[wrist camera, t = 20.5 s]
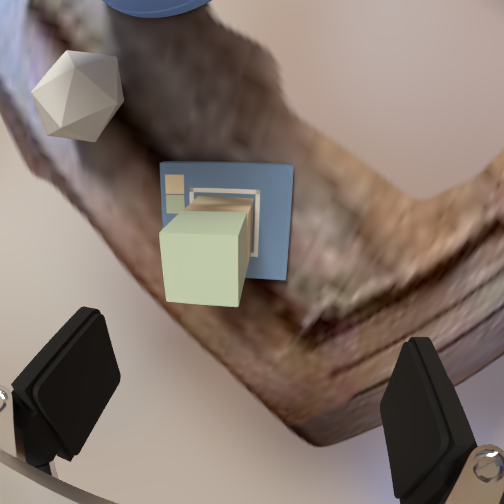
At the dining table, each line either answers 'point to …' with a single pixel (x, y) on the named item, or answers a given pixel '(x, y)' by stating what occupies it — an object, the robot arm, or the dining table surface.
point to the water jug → (154, 7)
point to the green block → (204, 257)
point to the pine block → (227, 206)
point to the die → (79, 95)
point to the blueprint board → (245, 186)
